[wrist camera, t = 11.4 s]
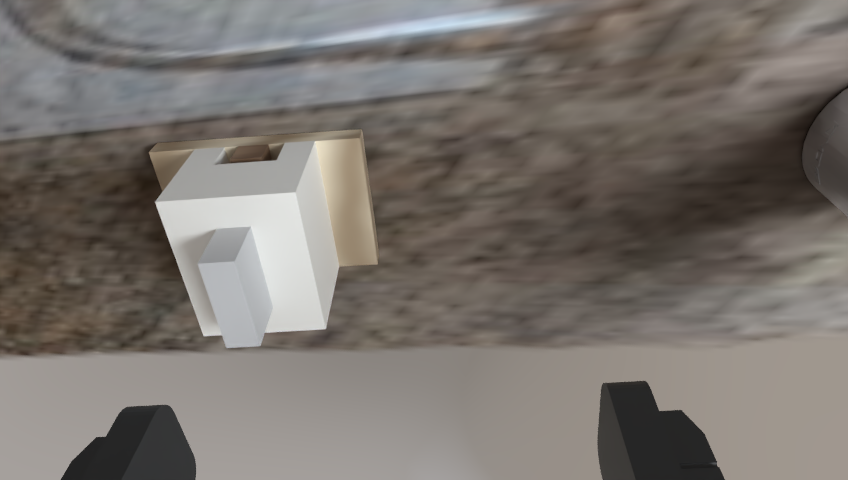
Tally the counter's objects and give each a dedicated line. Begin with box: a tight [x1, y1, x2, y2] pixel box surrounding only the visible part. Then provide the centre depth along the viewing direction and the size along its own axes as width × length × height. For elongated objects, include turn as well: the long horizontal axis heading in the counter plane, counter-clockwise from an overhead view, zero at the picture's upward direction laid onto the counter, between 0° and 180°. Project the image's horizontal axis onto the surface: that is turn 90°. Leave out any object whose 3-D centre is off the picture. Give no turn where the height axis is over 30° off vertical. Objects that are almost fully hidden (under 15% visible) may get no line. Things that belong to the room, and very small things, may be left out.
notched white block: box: [155, 141, 339, 348], centre depth 39 cm, size 8×10×10 cm
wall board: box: [149, 129, 379, 266], centre depth 43 cm, size 14×10×4 cm
